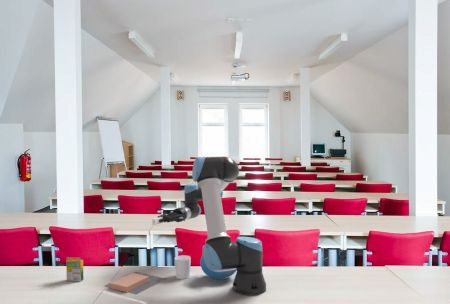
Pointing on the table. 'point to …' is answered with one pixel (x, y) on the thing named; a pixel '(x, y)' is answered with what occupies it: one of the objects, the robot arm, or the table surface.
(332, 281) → the table surface
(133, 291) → the mat
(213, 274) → the educational model
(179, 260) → the white cup
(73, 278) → the crayon box
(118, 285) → the tile
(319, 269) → the table surface
